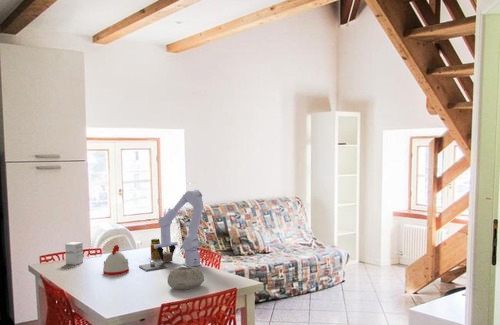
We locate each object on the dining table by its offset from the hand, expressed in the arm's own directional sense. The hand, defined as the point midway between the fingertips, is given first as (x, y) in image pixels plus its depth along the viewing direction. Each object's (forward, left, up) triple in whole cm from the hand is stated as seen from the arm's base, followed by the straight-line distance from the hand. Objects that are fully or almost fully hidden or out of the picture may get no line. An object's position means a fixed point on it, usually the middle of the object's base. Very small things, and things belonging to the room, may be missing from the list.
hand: (166, 258), depth 271 cm
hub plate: (-6, +11, -2) cm, 13 cm away
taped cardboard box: (0, 0, -1) cm, 1 cm away
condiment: (+16, 0, -3) cm, 16 cm away
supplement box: (+35, +46, -3) cm, 58 cm away
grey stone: (-55, +12, -3) cm, 56 cm away
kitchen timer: (-2, +31, -3) cm, 31 cm away
